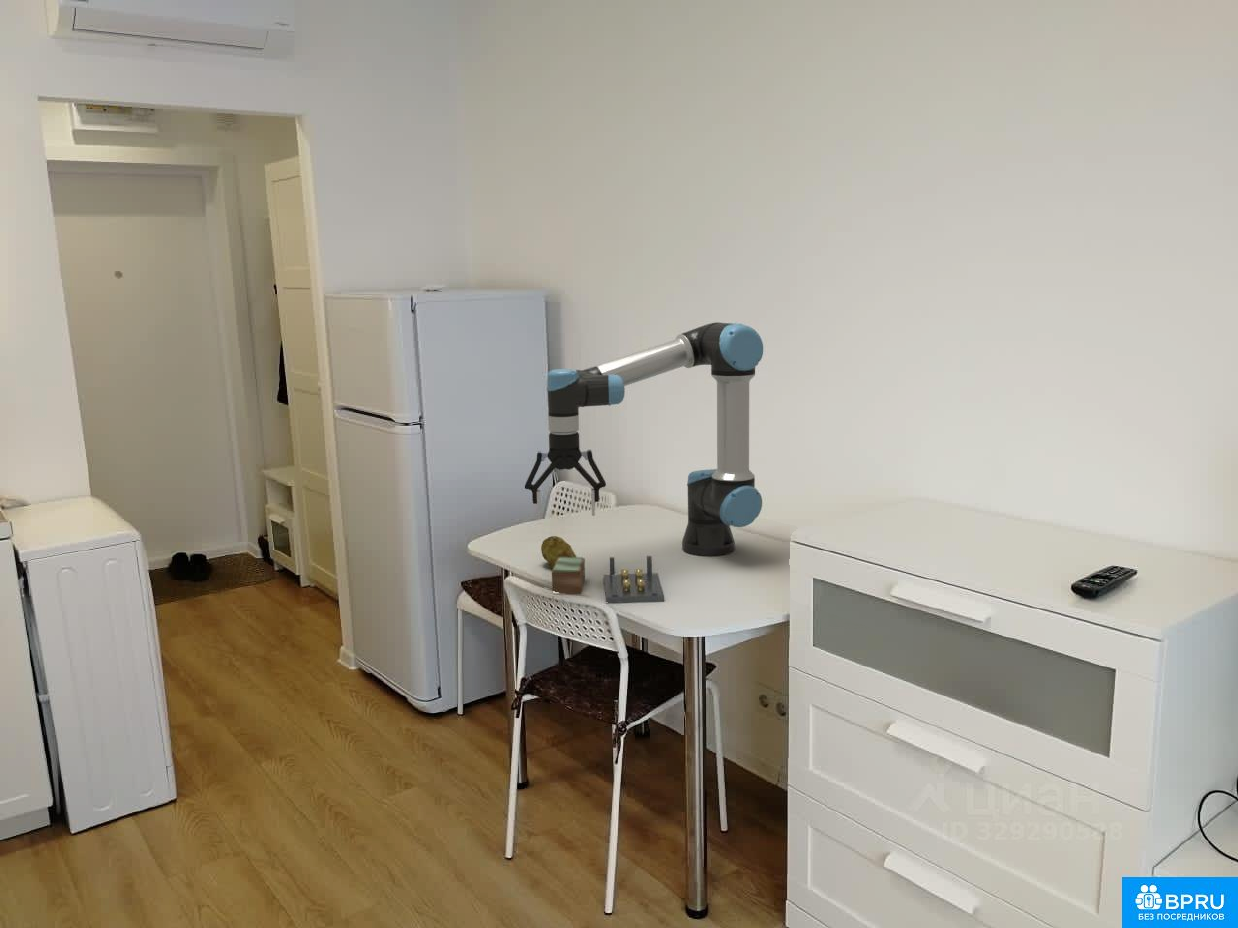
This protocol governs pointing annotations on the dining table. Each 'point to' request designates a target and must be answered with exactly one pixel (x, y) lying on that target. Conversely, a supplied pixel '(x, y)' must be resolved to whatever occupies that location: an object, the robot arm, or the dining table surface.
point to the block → (568, 575)
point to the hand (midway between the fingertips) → (566, 515)
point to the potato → (555, 550)
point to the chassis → (632, 585)
